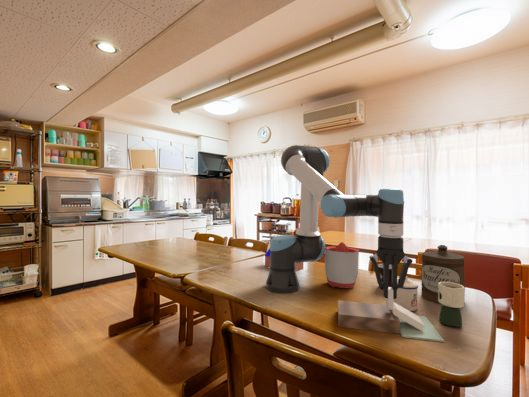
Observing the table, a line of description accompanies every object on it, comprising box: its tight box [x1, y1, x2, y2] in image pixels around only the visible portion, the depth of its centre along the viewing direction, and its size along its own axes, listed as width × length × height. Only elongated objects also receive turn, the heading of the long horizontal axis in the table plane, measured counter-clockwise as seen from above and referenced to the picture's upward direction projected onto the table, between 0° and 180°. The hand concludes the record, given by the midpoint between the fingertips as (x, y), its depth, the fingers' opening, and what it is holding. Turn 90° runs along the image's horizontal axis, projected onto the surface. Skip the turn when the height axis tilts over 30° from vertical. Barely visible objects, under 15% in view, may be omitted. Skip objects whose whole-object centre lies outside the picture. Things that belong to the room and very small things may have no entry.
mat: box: [399, 315, 445, 343], centre depth 88 cm, size 11×16×1 cm
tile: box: [392, 302, 425, 331], centre depth 88 cm, size 9×7×2 cm
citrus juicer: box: [324, 241, 360, 289], centre depth 129 cm, size 16×17×20 cm
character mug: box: [438, 282, 465, 327], centre depth 90 cm, size 11×7×13 cm, turn 141°
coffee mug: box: [377, 263, 392, 290], centre depth 126 cm, size 12×9×10 cm
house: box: [264, 247, 304, 272], centre depth 159 cm, size 12×20×12 cm, turn 47°
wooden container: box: [421, 244, 466, 305], centre depth 113 cm, size 15×15×22 cm
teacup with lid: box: [391, 275, 419, 312], centre depth 105 cm, size 12×9×12 cm
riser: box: [337, 300, 401, 335], centre depth 91 cm, size 18×12×4 cm, turn 76°
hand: (389, 308), depth 89 cm, fingers closed
